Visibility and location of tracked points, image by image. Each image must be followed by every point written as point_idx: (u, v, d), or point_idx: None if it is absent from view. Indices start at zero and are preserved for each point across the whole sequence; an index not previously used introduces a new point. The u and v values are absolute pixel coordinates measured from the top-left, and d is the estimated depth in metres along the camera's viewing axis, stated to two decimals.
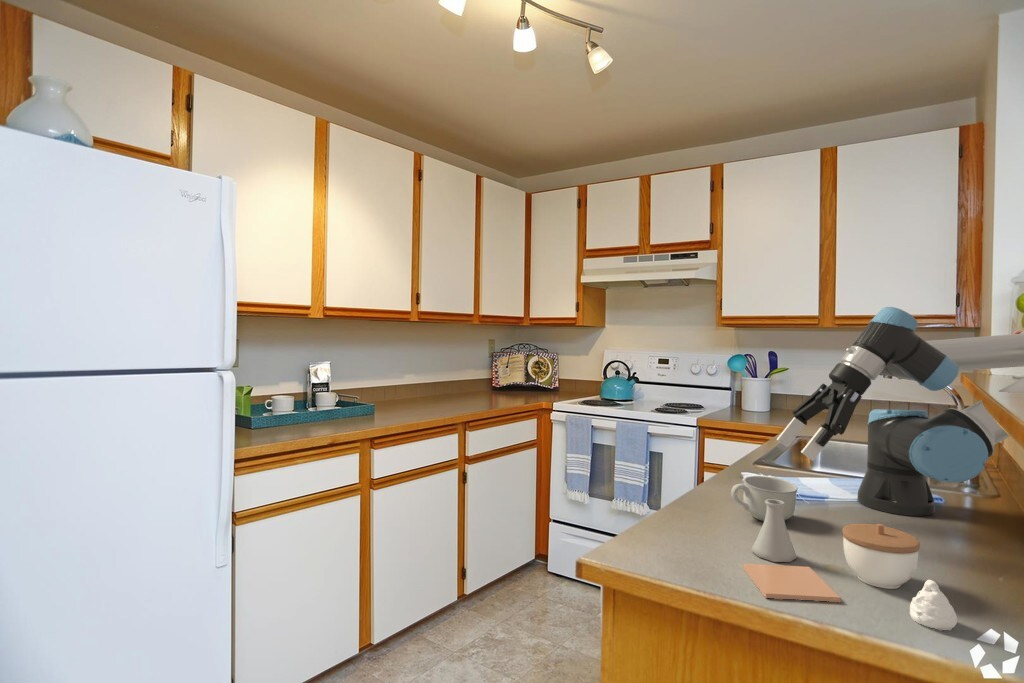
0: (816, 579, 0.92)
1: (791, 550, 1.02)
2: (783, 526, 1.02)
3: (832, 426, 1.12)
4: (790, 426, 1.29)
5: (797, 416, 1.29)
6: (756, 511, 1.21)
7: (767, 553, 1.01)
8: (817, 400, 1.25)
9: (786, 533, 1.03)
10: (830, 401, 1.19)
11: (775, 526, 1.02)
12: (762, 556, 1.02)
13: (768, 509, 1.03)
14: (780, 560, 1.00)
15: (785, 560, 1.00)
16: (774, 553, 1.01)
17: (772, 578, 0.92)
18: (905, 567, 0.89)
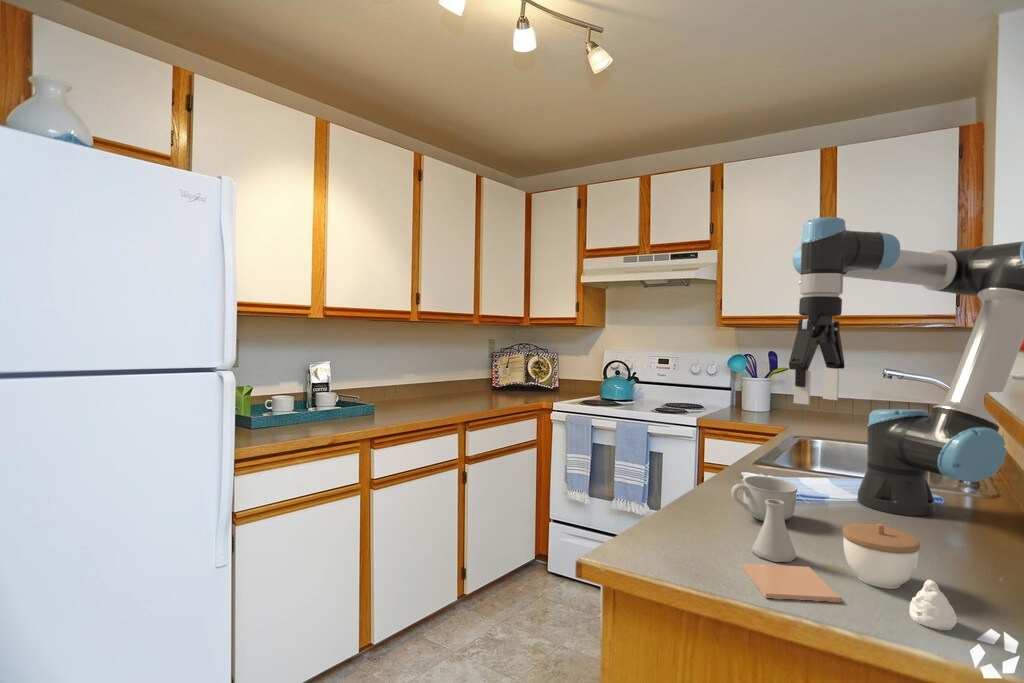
0: (816, 579, 0.92)
1: (791, 550, 1.02)
2: (783, 526, 1.02)
3: (789, 364, 1.08)
4: (825, 378, 1.19)
5: (827, 365, 1.19)
6: (756, 511, 1.21)
7: (767, 553, 1.01)
8: None
9: (786, 533, 1.03)
10: None
11: (775, 526, 1.02)
12: (762, 556, 1.02)
13: (768, 509, 1.03)
14: (780, 560, 1.00)
15: (785, 560, 1.00)
16: (774, 553, 1.01)
17: (772, 578, 0.92)
18: (905, 567, 0.89)
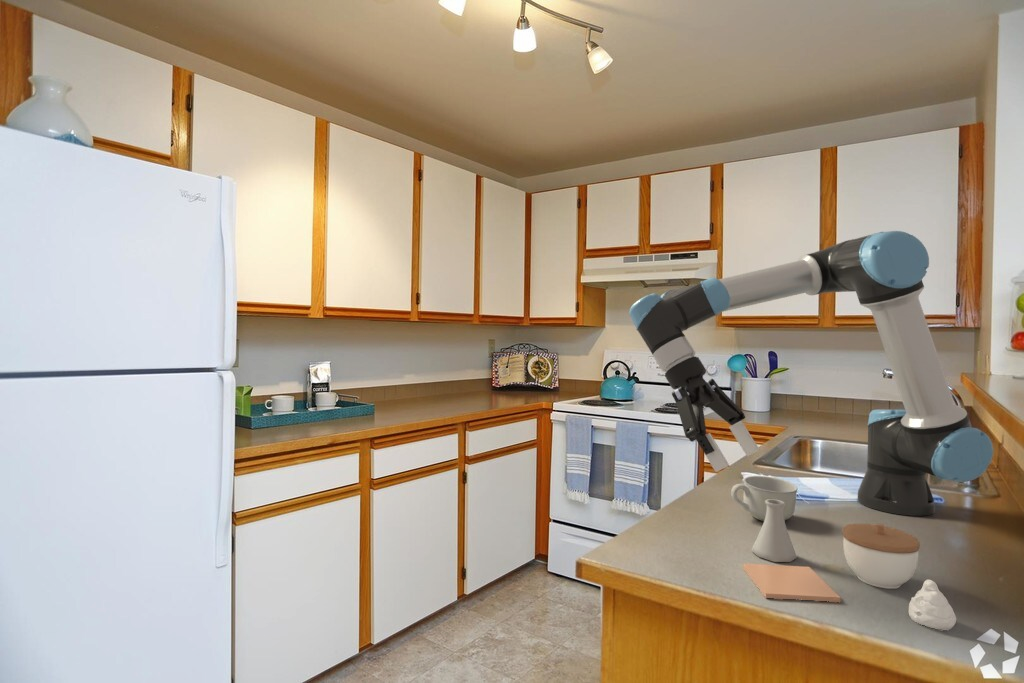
0: (816, 579, 0.92)
1: (791, 550, 1.02)
2: (783, 526, 1.02)
3: (687, 437, 1.03)
4: (736, 436, 1.13)
5: (730, 423, 1.14)
6: (756, 511, 1.21)
7: (767, 553, 1.01)
8: (706, 405, 1.13)
9: (786, 533, 1.03)
10: None
11: (775, 526, 1.02)
12: (762, 556, 1.02)
13: (768, 509, 1.03)
14: (780, 560, 1.00)
15: (785, 560, 1.00)
16: (774, 553, 1.01)
17: (772, 578, 0.92)
18: (905, 567, 0.89)
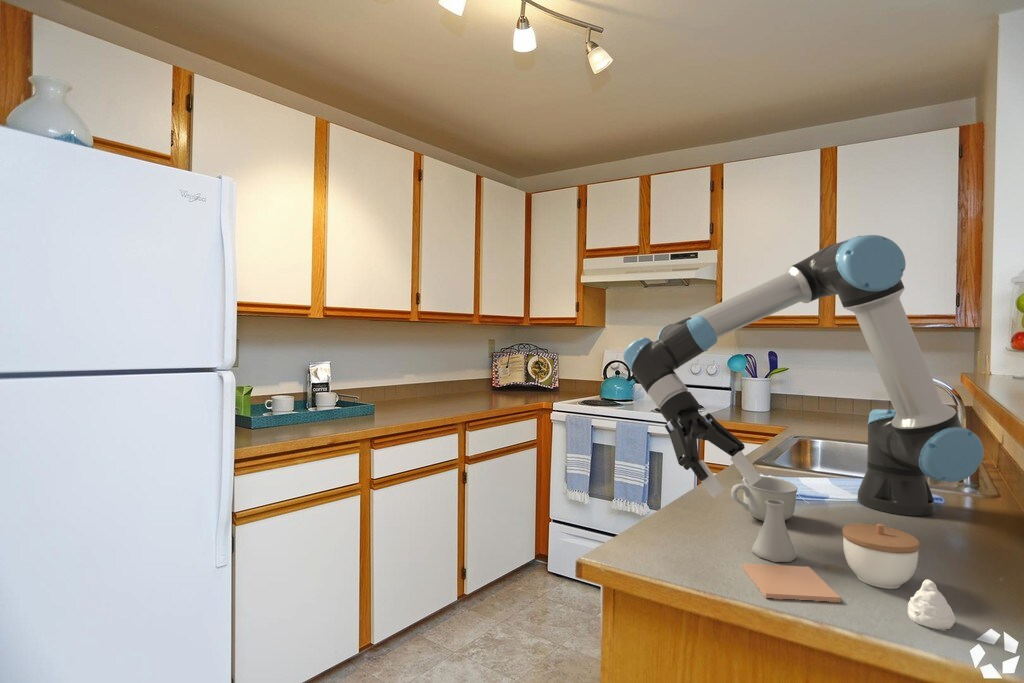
0: (816, 579, 0.92)
1: (791, 550, 1.02)
2: (783, 526, 1.02)
3: (680, 464, 1.07)
4: (738, 467, 1.15)
5: (731, 454, 1.17)
6: (756, 511, 1.21)
7: (767, 553, 1.01)
8: (704, 438, 1.17)
9: (786, 533, 1.03)
10: None
11: (775, 526, 1.02)
12: (762, 556, 1.02)
13: (768, 509, 1.03)
14: (780, 560, 1.00)
15: (785, 560, 1.00)
16: (774, 553, 1.01)
17: (772, 578, 0.92)
18: (905, 567, 0.89)
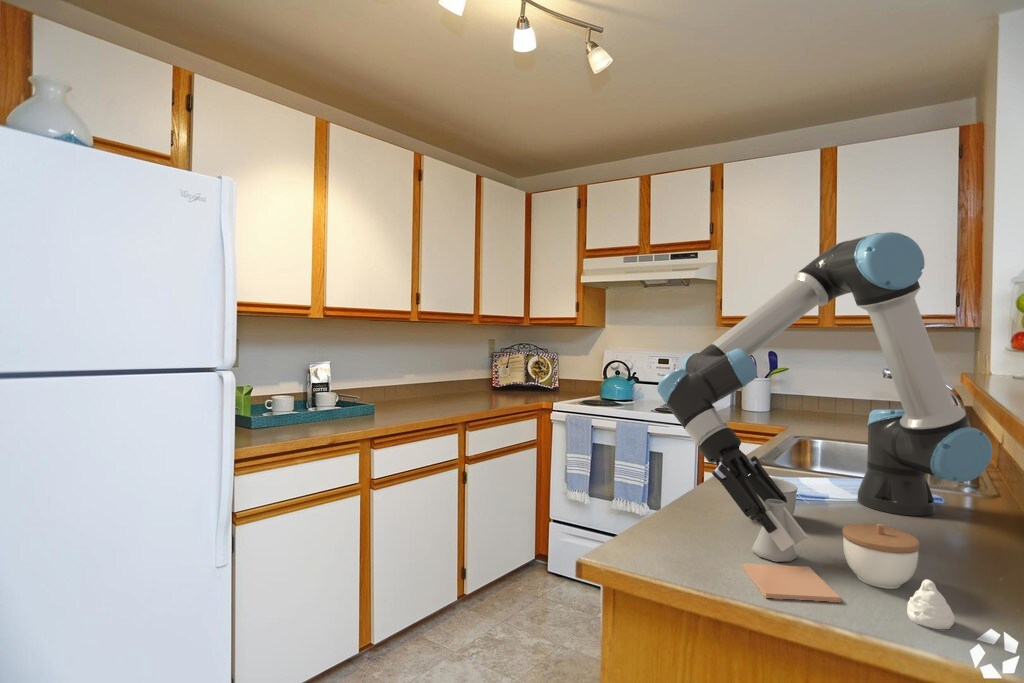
0: (816, 579, 0.92)
1: (791, 549, 1.02)
2: (783, 526, 1.02)
3: (747, 516, 1.02)
4: None
5: None
6: None
7: (768, 553, 1.01)
8: None
9: (787, 532, 1.03)
10: None
11: None
12: (762, 556, 1.02)
13: (768, 508, 1.03)
14: (780, 560, 1.00)
15: (785, 560, 1.00)
16: (774, 552, 1.01)
17: (772, 578, 0.92)
18: (905, 567, 0.89)
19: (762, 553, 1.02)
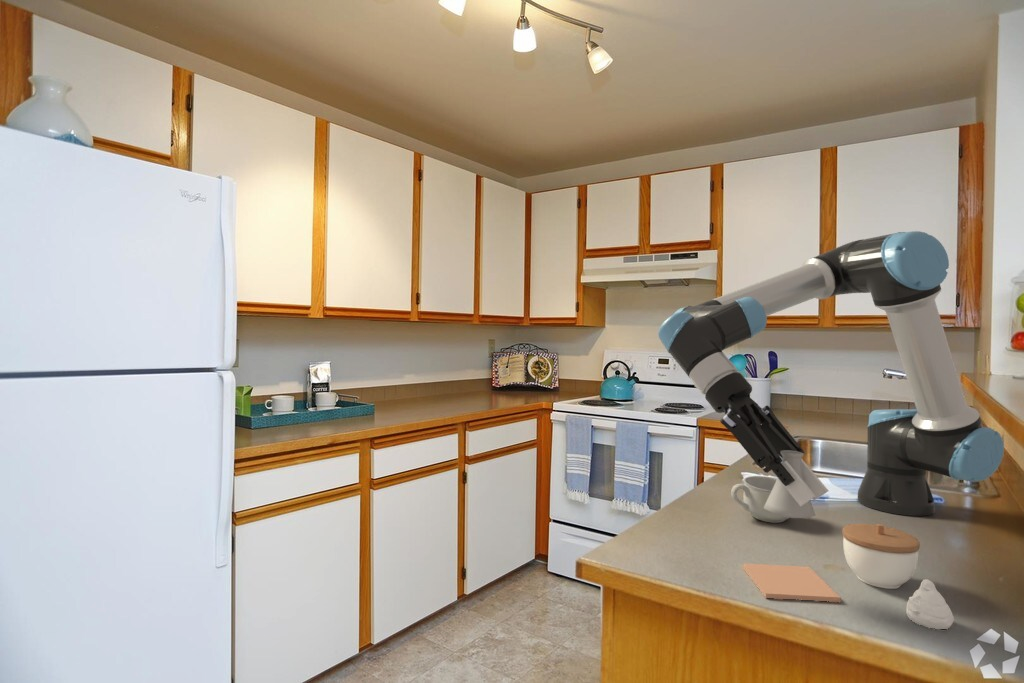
0: (816, 579, 0.92)
1: (809, 506, 0.90)
2: None
3: None
4: None
5: None
6: (756, 511, 1.21)
7: (783, 509, 0.89)
8: None
9: None
10: None
11: None
12: (777, 512, 0.90)
13: (784, 460, 0.92)
14: (798, 516, 0.88)
15: (803, 516, 0.88)
16: (791, 508, 0.89)
17: (772, 578, 0.92)
18: (905, 567, 0.89)
19: (777, 509, 0.90)
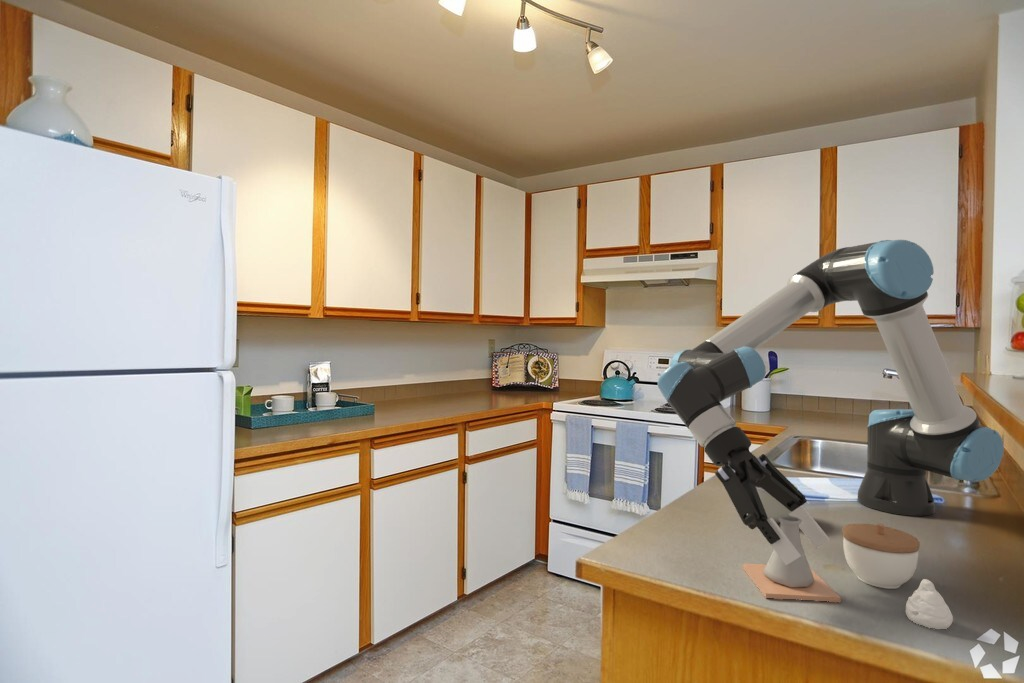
0: (816, 579, 0.92)
1: (808, 573, 0.90)
2: (799, 546, 0.91)
3: (745, 524, 0.89)
4: None
5: (790, 509, 0.97)
6: None
7: (782, 577, 0.90)
8: (756, 484, 0.98)
9: (803, 553, 0.91)
10: None
11: None
12: (776, 580, 0.90)
13: (782, 526, 0.92)
14: (797, 585, 0.89)
15: (802, 585, 0.89)
16: (790, 577, 0.89)
17: None
18: (905, 567, 0.89)
19: (776, 577, 0.90)
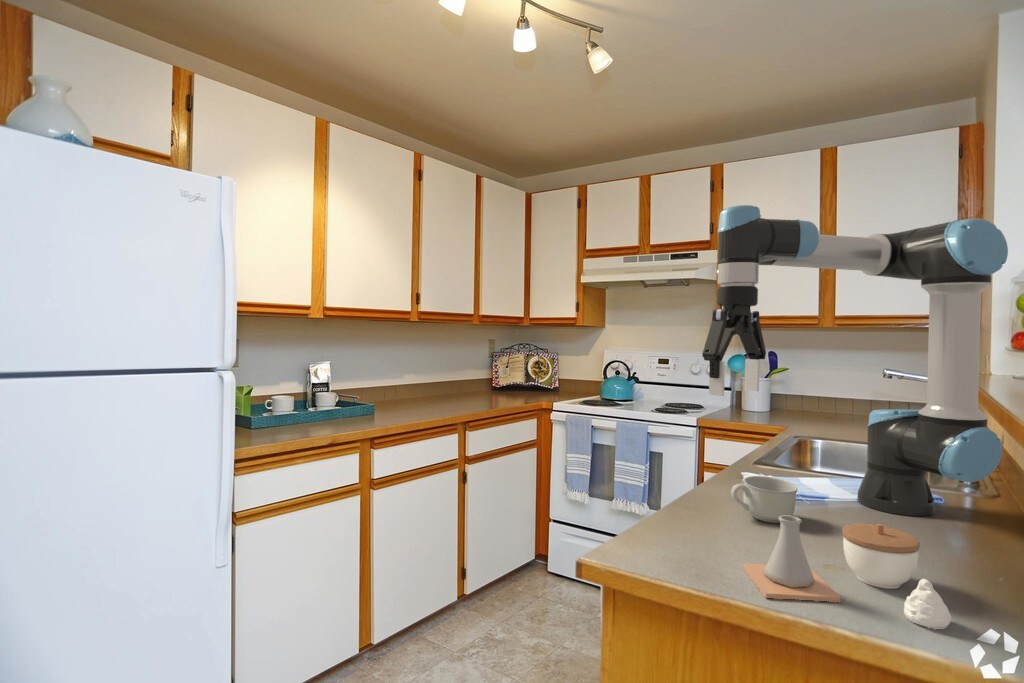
0: (816, 579, 0.92)
1: (808, 573, 0.90)
2: (799, 546, 0.91)
3: (703, 355, 1.07)
4: (746, 369, 1.17)
5: (748, 356, 1.17)
6: (756, 511, 1.21)
7: (782, 577, 0.90)
8: (737, 332, 1.15)
9: (803, 553, 0.91)
10: None
11: (791, 546, 0.90)
12: (776, 580, 0.90)
13: (782, 526, 0.92)
14: (797, 585, 0.89)
15: (802, 585, 0.89)
16: (790, 577, 0.89)
17: None
18: (905, 567, 0.89)
19: (776, 577, 0.90)
